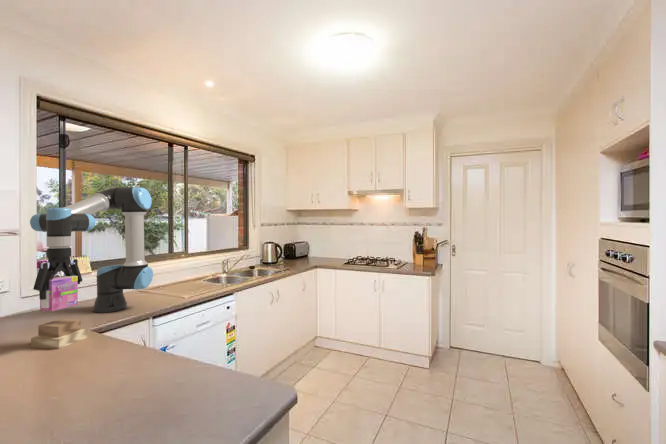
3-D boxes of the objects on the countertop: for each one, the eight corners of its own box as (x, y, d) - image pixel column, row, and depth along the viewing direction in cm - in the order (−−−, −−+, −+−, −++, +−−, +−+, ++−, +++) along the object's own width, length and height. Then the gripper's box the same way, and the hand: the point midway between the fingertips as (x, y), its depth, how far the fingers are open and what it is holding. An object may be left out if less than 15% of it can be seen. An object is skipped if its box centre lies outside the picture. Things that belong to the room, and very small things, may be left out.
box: (52, 311, 125) (51, 280, 125) (39, 311, 126) (39, 279, 126) (78, 304, 135) (78, 275, 135) (66, 304, 136) (66, 275, 136)
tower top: (61, 328, 136) (61, 318, 136) (80, 329, 134) (80, 319, 134) (38, 336, 127) (38, 325, 127) (58, 337, 125) (58, 326, 125)
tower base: (61, 337, 137) (61, 327, 137) (87, 338, 135) (87, 328, 135) (31, 348, 125) (30, 337, 125) (59, 350, 123) (58, 339, 123)
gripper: (77, 245, 142) (77, 297, 142) (19, 249, 119) (19, 311, 119) (92, 245, 141) (93, 297, 141) (37, 250, 118) (38, 312, 118)
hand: (59, 304), depth 130 cm, fingers closed on box, 11 cm apart
